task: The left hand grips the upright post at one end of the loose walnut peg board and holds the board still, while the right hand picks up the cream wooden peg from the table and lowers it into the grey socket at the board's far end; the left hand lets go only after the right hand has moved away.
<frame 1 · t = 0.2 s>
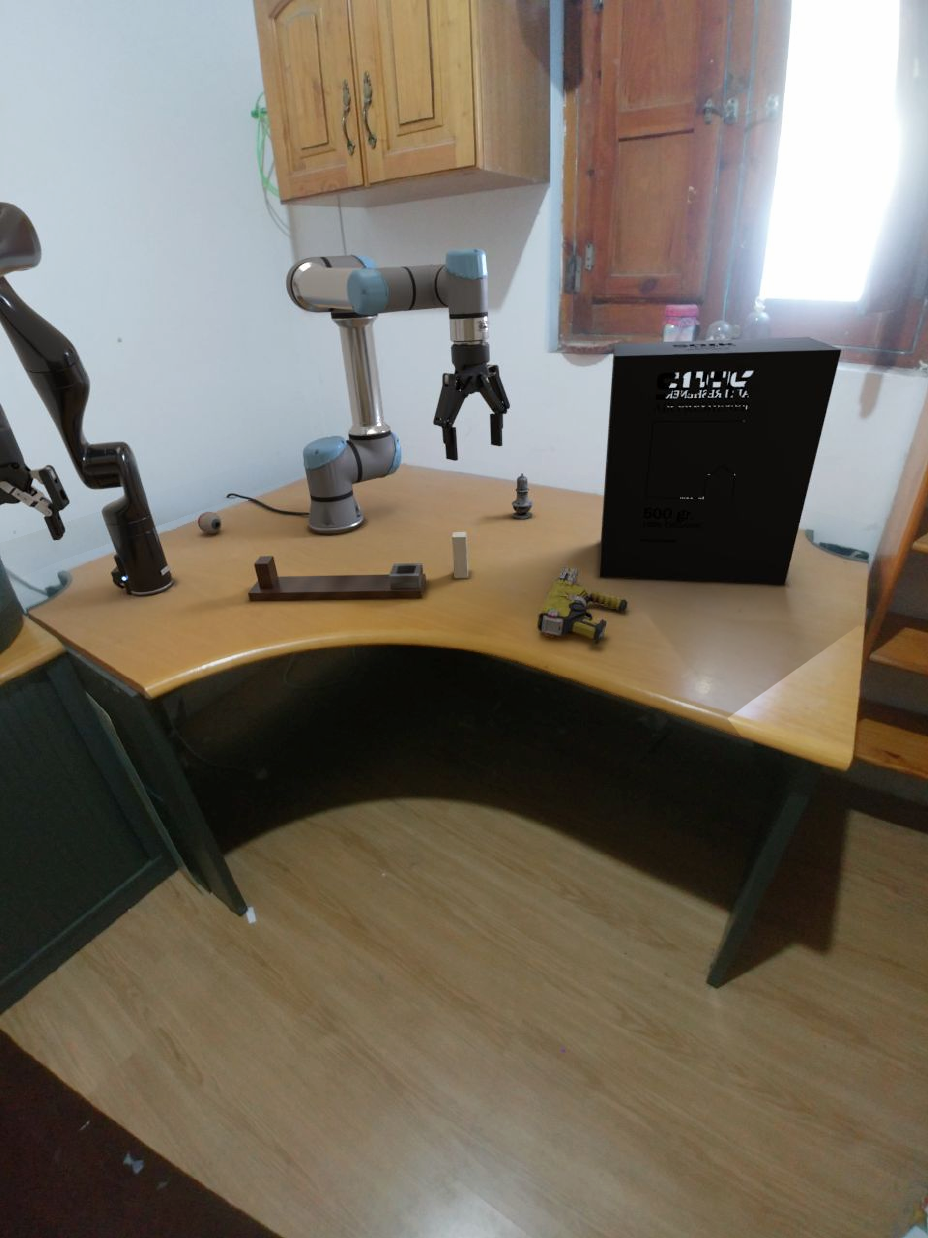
left hand: (27, 542, 88), 29 cm above the table, fingers open, 8 cm apart
right hand: (475, 452, 127), 27 cm above the table, fingers open, 13 cm apart
eyeball: (213, 533, 169), on the table
peg board: (339, 591, 134), on the table
toy gun: (586, 614, 119), on the table
peg: (461, 575, 138), on the table
salt shaker: (522, 515, 168), on the table
cardboard box: (684, 561, 138), on the table
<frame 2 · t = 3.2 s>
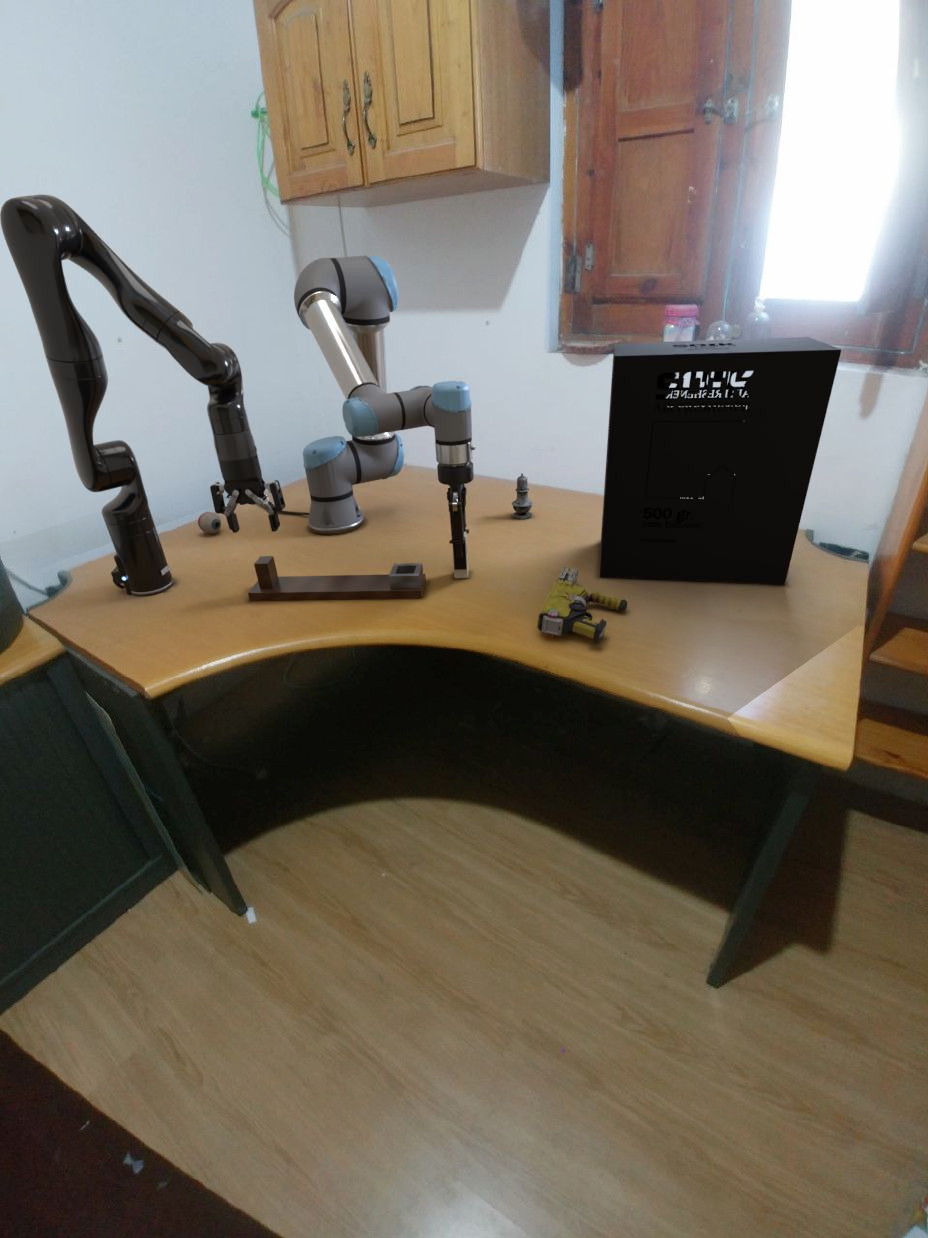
left hand: (255, 530, 127), 15 cm above the table, fingers open, 8 cm apart
right hand: (461, 565, 136), 3 cm above the table, fingers closed on peg, 3 cm apart
peg: (461, 575, 138), on the table, touching right hand
everything else where it was.
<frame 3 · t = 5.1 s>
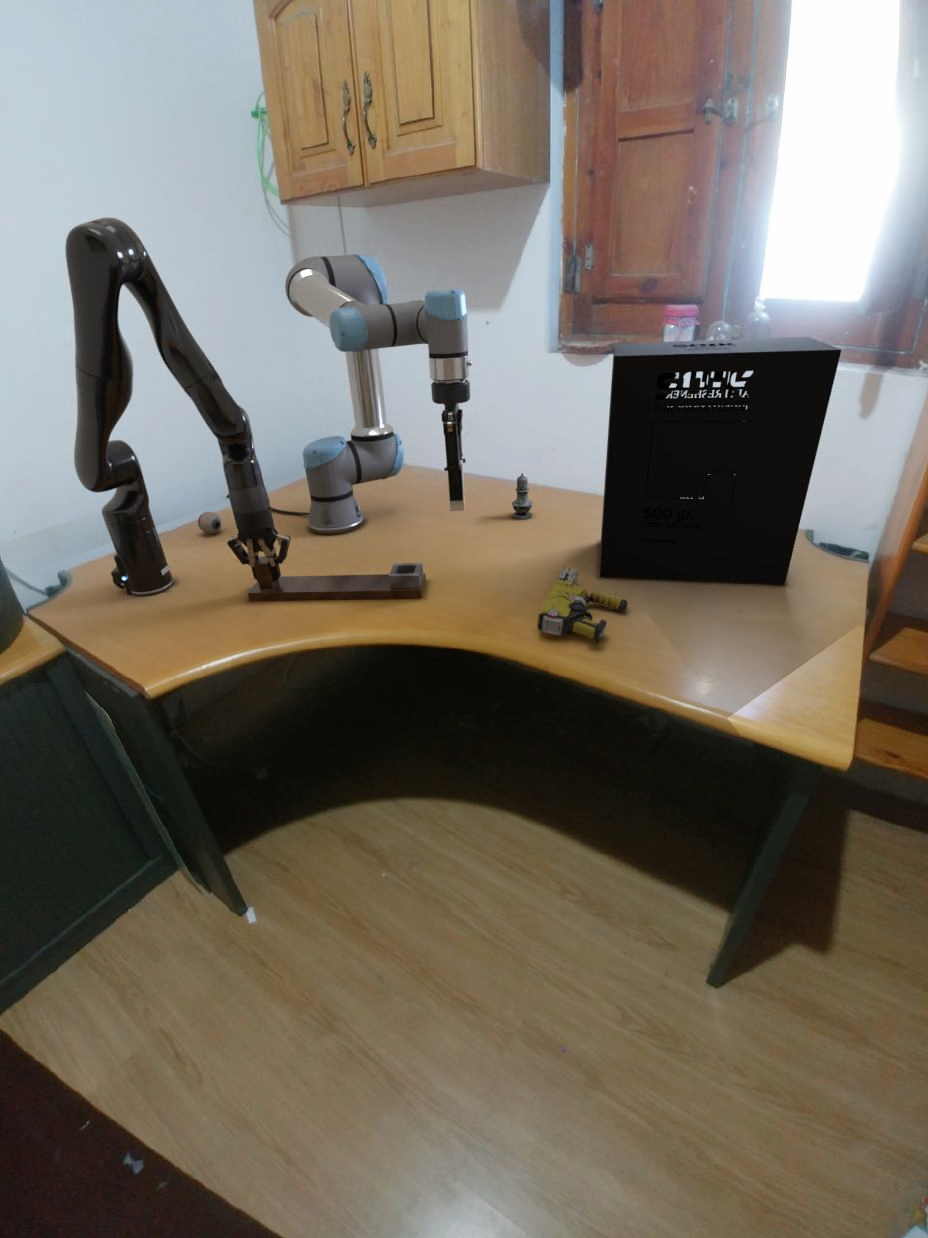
left hand: (268, 579, 133), 3 cm above the table, fingers closed on peg board, 3 cm apart
right hand: (457, 496, 128), 19 cm above the table, fingers closed on peg, 3 cm apart
peg board: (339, 591, 134), on the table, touching left hand
peg: (457, 508, 130), point 16 cm above the table, touching right hand
everything else where it was.
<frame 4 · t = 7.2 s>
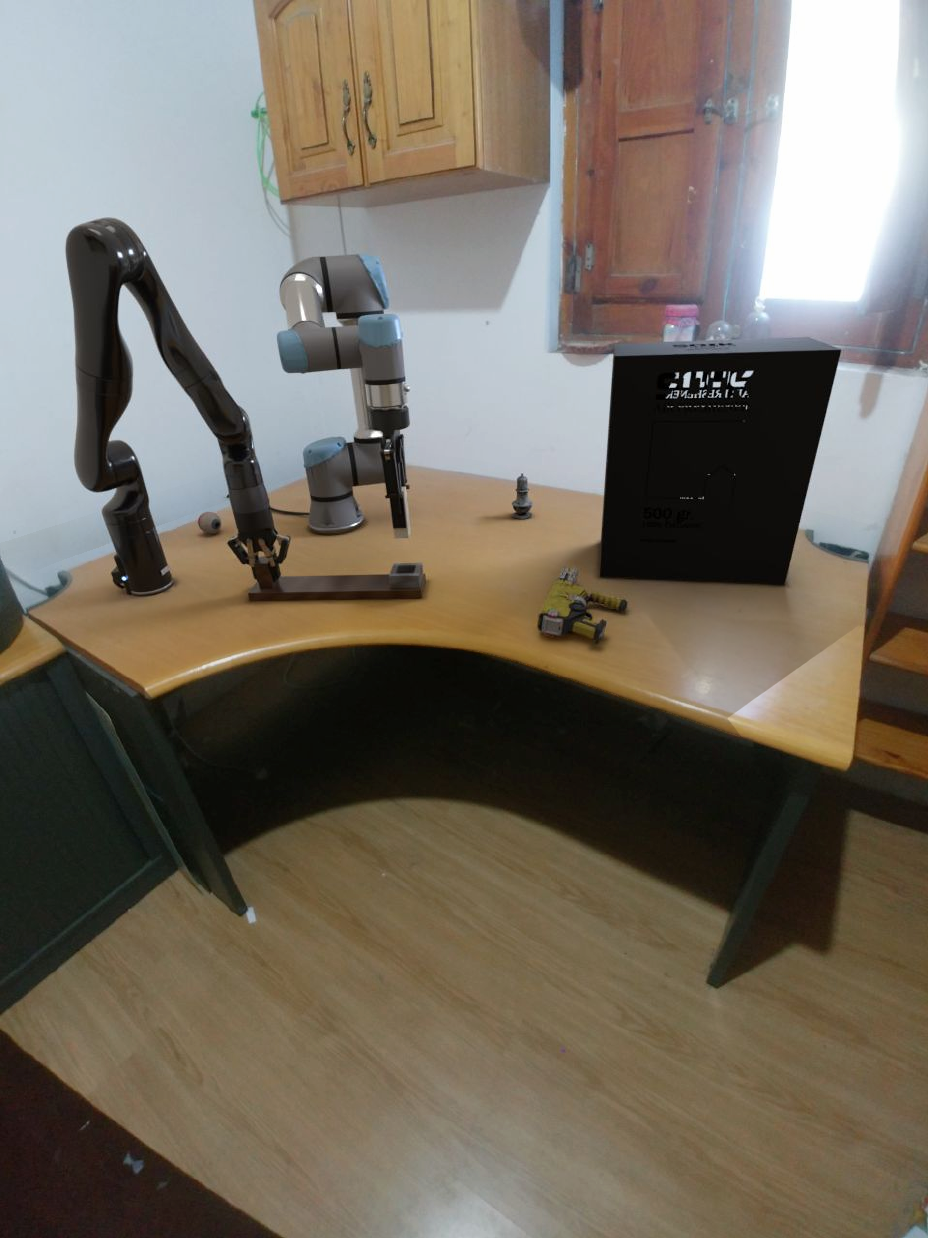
left hand: (268, 579, 133), 3 cm above the table, fingers closed on peg board, 3 cm apart
right hand: (401, 524, 125), 15 cm above the table, fingers closed on peg, 3 cm apart
peg board: (339, 591, 134), on the table, touching left hand
peg: (402, 535, 126), point 13 cm above the table, touching right hand
everything else where it was.
when the right hand's fingers open (7 cm above the table, at t = 8.8 s): peg drops 2 cm, resting on peg board.
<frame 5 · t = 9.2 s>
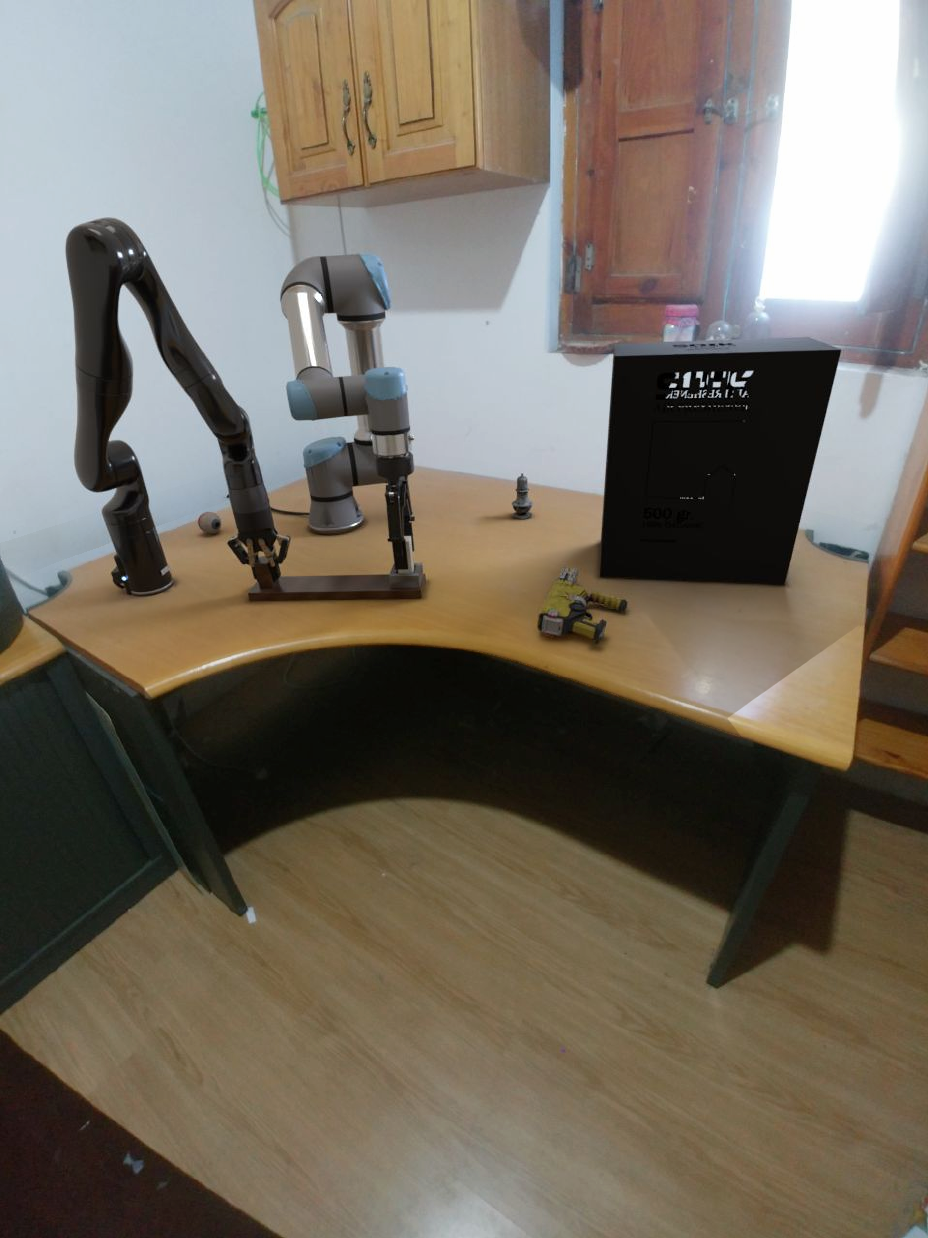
left hand: (268, 579, 133), 3 cm above the table, fingers closed on peg board, 3 cm apart
right hand: (405, 559, 129), 7 cm above the table, fingers open, 8 cm apart
peg board: (339, 591, 134), on the table, touching left hand, peg
peg: (407, 581, 132), point 2 cm above the table, touching peg board
everything else where it was.
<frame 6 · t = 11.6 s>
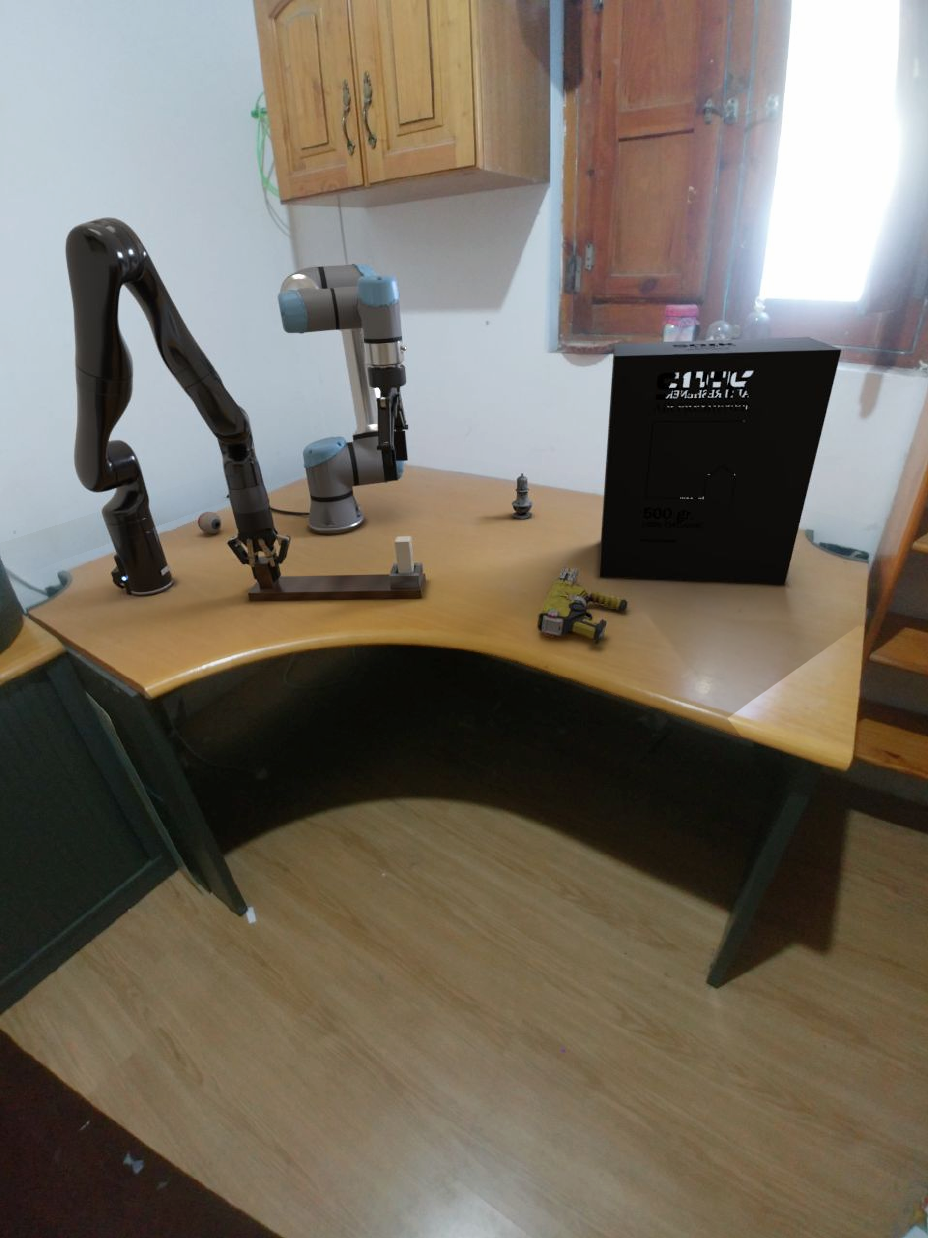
left hand: (268, 579, 133), 3 cm above the table, fingers closed on peg board, 3 cm apart
right hand: (396, 470, 130), 24 cm above the table, fingers open, 13 cm apart
peg board: (339, 591, 134), on the table, touching left hand, peg
everything else where it was.
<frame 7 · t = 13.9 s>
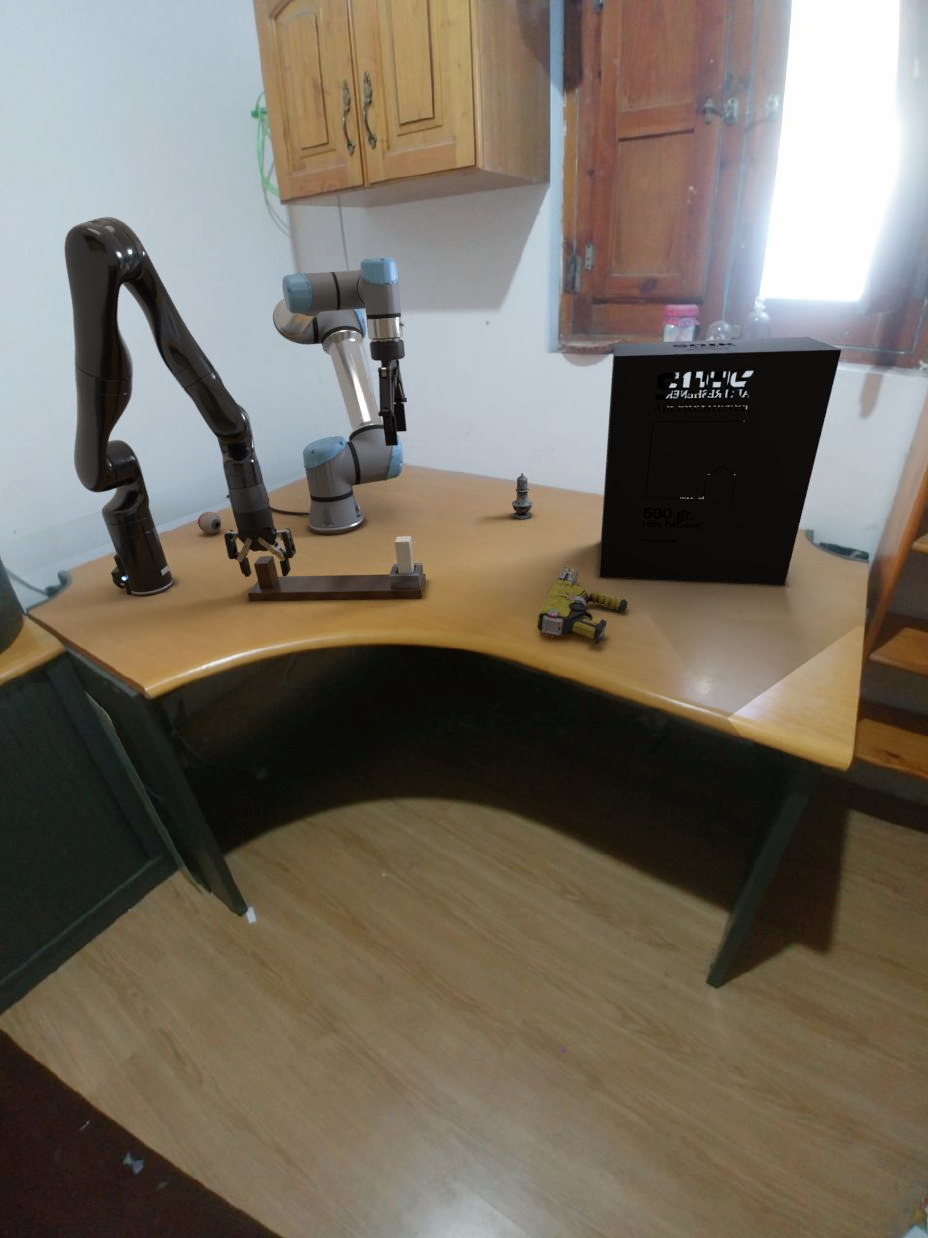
left hand: (267, 575, 133), 4 cm above the table, fingers open, 8 cm apart
right hand: (396, 438, 142), 27 cm above the table, fingers open, 13 cm apart
peg board: (339, 591, 134), on the table, touching peg
everything else where it was.
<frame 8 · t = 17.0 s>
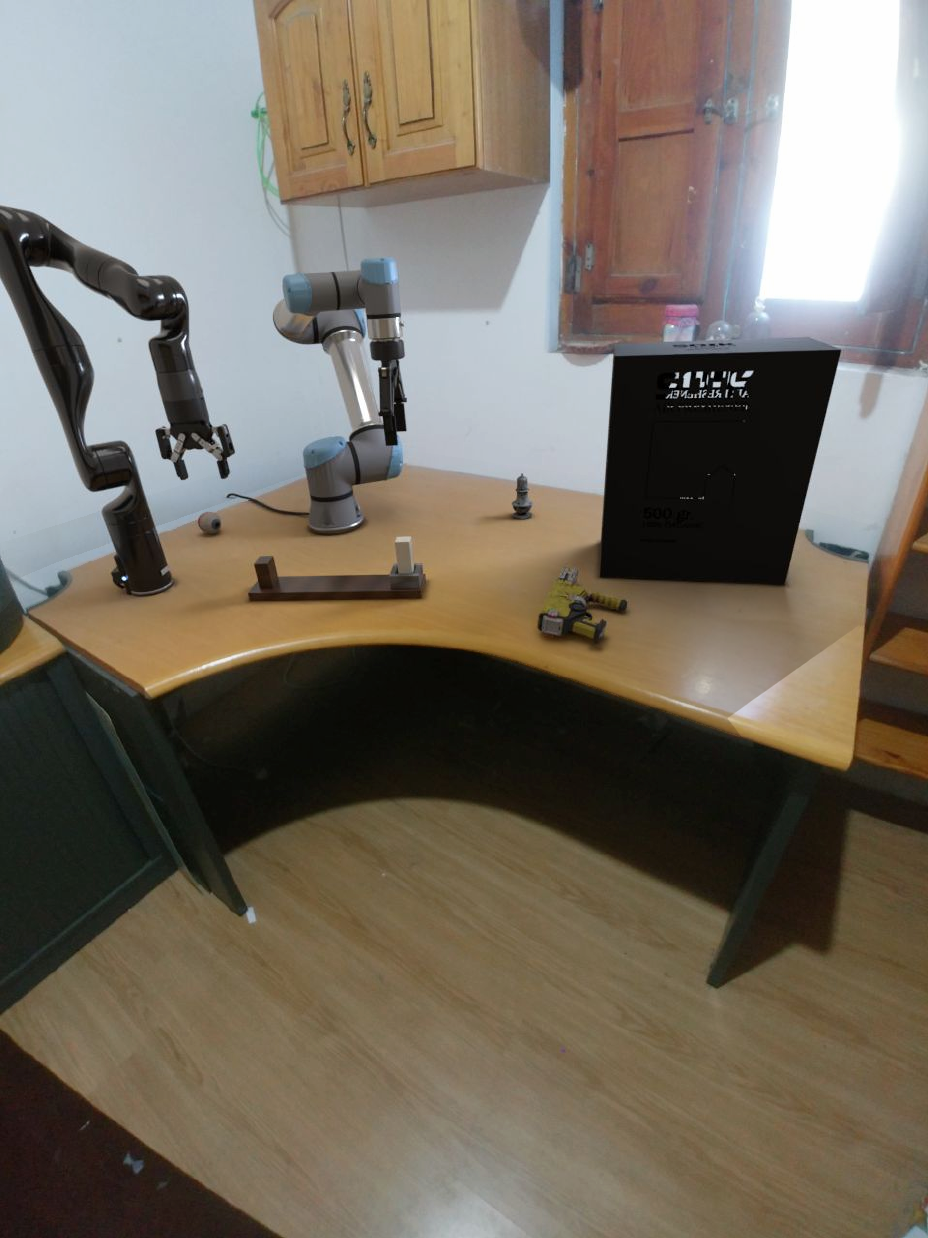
left hand: (205, 478, 123), 26 cm above the table, fingers open, 8 cm apart
right hand: (396, 438, 142), 27 cm above the table, fingers open, 13 cm apart
nothing on the table moved.
at the end: peg 0.1 cm from the target spot, point 2.0 cm above the table; peg tilted 0°; peg board moved 0.0 cm from its start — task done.
